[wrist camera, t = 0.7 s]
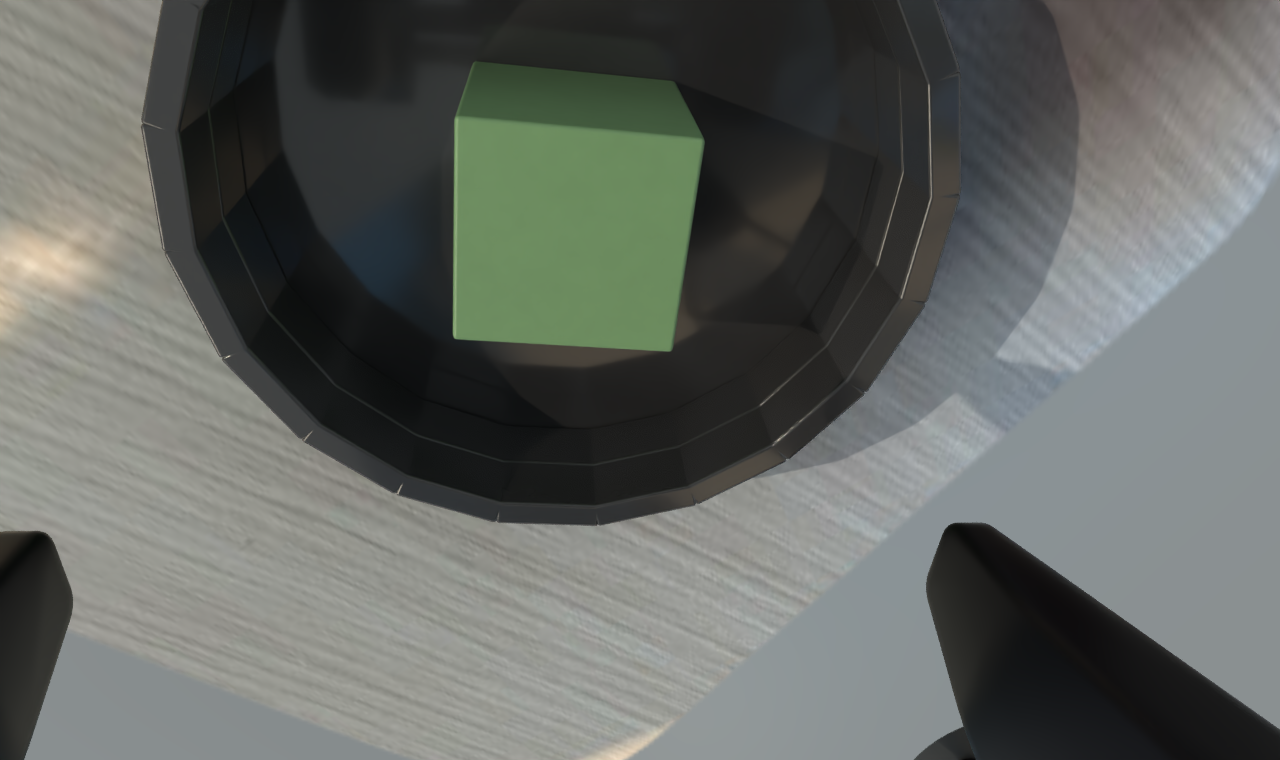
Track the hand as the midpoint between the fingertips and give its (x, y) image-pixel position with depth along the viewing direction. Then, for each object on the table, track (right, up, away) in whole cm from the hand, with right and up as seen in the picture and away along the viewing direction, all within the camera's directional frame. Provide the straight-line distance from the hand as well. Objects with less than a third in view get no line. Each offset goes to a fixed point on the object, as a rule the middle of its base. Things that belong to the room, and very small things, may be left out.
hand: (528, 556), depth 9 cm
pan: (0, +7, +10) cm, 12 cm away
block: (0, +6, +9) cm, 11 cm away
